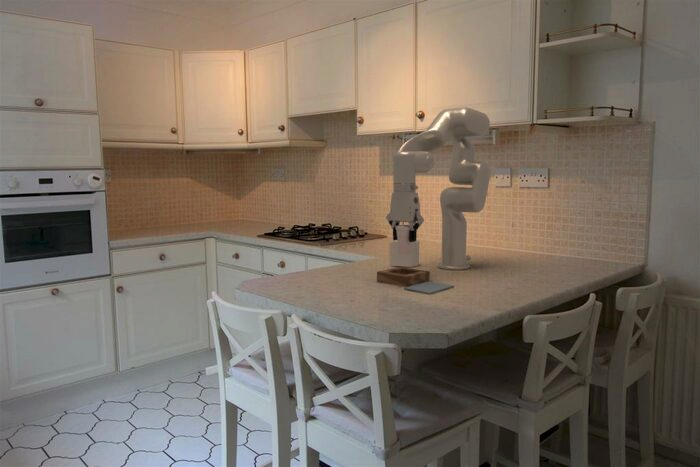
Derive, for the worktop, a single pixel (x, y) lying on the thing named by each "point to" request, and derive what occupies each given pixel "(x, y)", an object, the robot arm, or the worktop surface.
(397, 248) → the toilet tissue
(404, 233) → the smoothie
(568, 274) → the worktop surface
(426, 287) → the mat
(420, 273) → the wooden square frame
